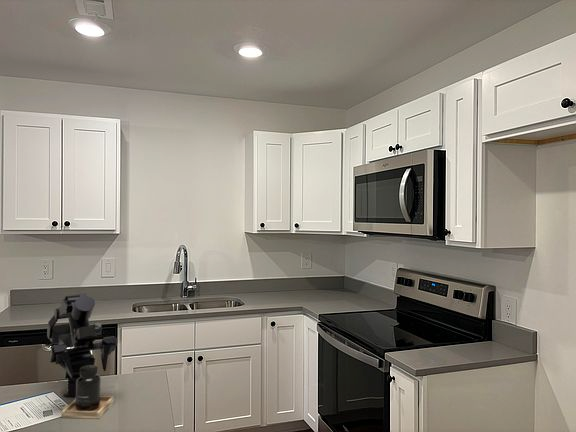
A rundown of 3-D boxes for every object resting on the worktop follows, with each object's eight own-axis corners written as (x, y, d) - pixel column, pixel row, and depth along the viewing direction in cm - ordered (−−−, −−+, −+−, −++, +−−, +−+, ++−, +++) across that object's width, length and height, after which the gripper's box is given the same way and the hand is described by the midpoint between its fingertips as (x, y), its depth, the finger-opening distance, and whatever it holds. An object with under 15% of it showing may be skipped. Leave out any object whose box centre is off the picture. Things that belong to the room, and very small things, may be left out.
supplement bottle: (77, 414, 131) (77, 373, 131) (73, 405, 137) (74, 366, 137) (102, 408, 135) (103, 369, 135) (98, 400, 141) (98, 362, 140)
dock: (79, 401, 142) (79, 395, 142) (114, 401, 141) (114, 396, 141) (61, 417, 131) (61, 411, 131) (99, 418, 130) (99, 412, 130)
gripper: (51, 319, 134) (58, 367, 125) (116, 310, 145) (126, 354, 137) (46, 339, 140) (53, 385, 132) (108, 329, 152) (118, 372, 143)
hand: (89, 373), depth 136 cm, fingers open, 9 cm apart
